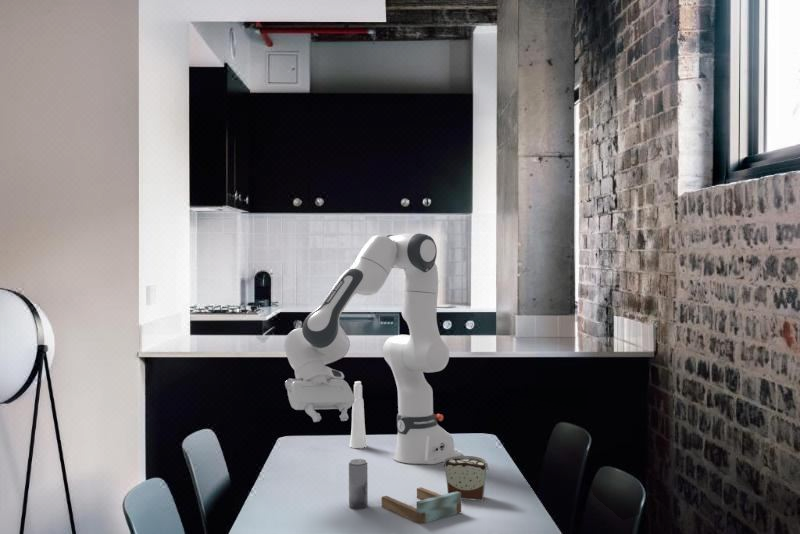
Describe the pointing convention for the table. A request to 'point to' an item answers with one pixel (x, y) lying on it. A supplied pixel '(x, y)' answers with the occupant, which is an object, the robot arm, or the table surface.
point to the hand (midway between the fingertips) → (331, 420)
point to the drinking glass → (358, 484)
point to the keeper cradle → (426, 506)
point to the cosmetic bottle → (358, 419)
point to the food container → (466, 476)
